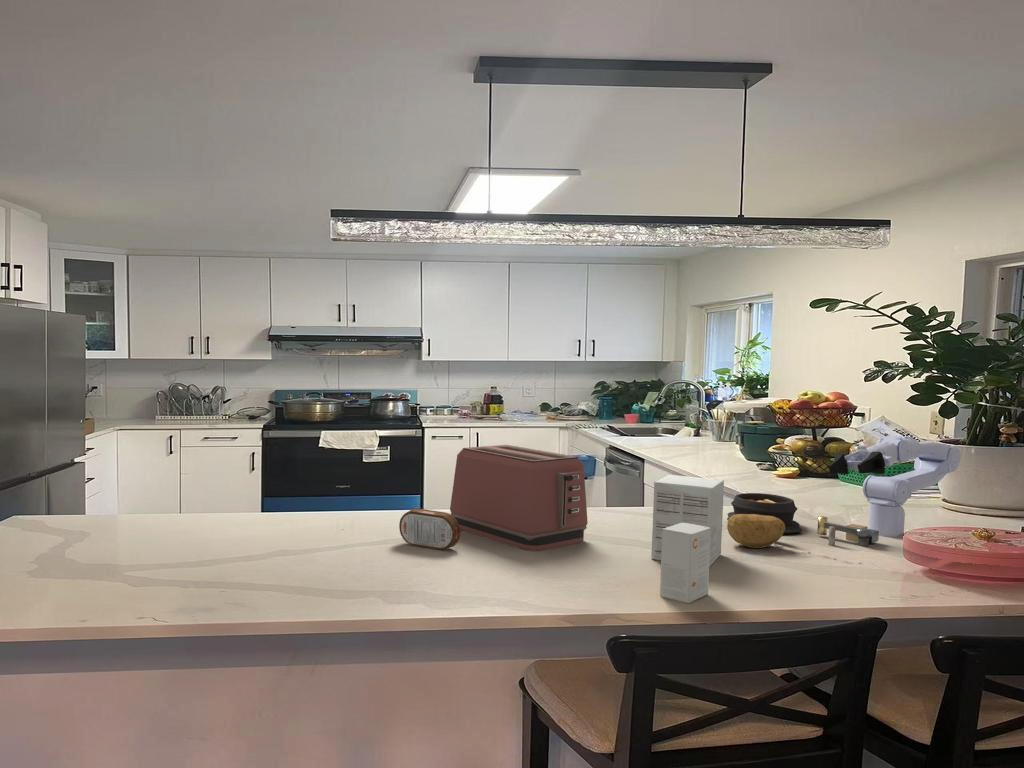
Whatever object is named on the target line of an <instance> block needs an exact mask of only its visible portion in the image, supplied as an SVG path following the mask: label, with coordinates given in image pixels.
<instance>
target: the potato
mask: <svg viewBox="0 0 1024 768" xmlns="http://www.w3.org/2000/svg"><path fill="white" fill-rule="evenodd" d="M726 527H727V528H726V529H727V532H728V534H729V537H731V538H732V540H734V542H736V543H738V544H740V545H741V546H744V547H748V548H751V549H752V548H753V549H762V548H766V547H768V546H772V545H773V544H775V543H776V542H778V541H779V540H780V539H781V538H782V537H783V536H784V534H785V533H784V530H785V524H784V522H783V521H782V520H780V519H779V518H776V517H773V516H765V515H757V514H736V515H733V516H731V517H730V518H729V520H727V523H726Z"/></svg>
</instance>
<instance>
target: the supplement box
mask: <svg viewBox="0 0 1024 768" xmlns="http://www.w3.org/2000/svg"><path fill="white" fill-rule="evenodd" d="M724 485H725V480H724V479H719V478H718V479H717V478H716V479H715V478H709V477H707V478H706V477H697V476H686V475H677V474H676V475H675V474H668V475H665V476H664V477H662V478H661V479H660V478H659V479H658V480H656V481H654V483H653V507H652V508H653V511H652V531H651V533H652V534H651V535H652V536H651V556H650V558H651V560H656V561H661V550H662V529H663V528H667V527H670V526H673V525H676V524H679V523H688V524H695V525H700V526H705V527H709V528H711V533H710V559H709V568H710V567H711V566H712V564H713V563H714V562H715V561H716V560H718V558H719V557H720V556H721V555H722V535H723V534H722V533H723V518H724V517H723V513H724V494H725V493H724V492H725V491H724V487H725V486H724Z"/></svg>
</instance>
